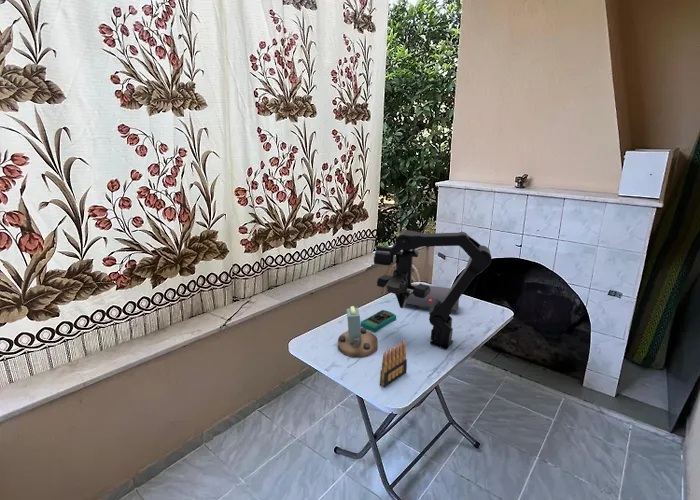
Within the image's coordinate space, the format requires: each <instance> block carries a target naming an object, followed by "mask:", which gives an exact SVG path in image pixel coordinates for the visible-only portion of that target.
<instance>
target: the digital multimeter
mask: <svg viewBox="0 0 700 500" xmlns="http://www.w3.org/2000/svg"><path fill="white" fill-rule="evenodd" d="M394 321H397V315H396V314H395V313H393V312H391V311H389V310H385V309H381V310H380V311H378V312H376V313H375V314H372V315H370V316H369V317H367V318H365V319H363V320H360V326H361V328H366V331H367V330H368V332H371V333H372V332H373V333H376V332H378V331H380V330H381V329H382V328H384V327H386V326H388V325H389V324H391V323H392V322H394Z"/></svg>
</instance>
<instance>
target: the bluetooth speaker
mask: <svg viewBox="0 0 700 500" xmlns="http://www.w3.org/2000/svg"><path fill="white" fill-rule="evenodd" d="M411 284H412V285H415V286H417V285H419V284H420V283H419V284H417V283H411ZM427 285H428V286H429V287H430V289H431V290H430V294H428V295H427V296H426V297H425V298H419V297H416V296H414V294H413V293H412V294H411V295H410V296H409V297H408V299H407V301H406V303H405V304H408V305H413V306H417V307H418V308H420V309H426V310H430V307H431V305H433V304H434V302H435V300H436V299H438V300H439V301H440V300H442V299H443V298H444V297H445V295H446V294H447V293H448V291H449V290H450V289H451V287H445V286H435V285H429V284H427ZM459 301H460V298H459V299H458V300H457V302H456V303H455V304H454V306H453V307H452V309H451V311H452V310H453V311H458V310H459Z"/></svg>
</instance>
